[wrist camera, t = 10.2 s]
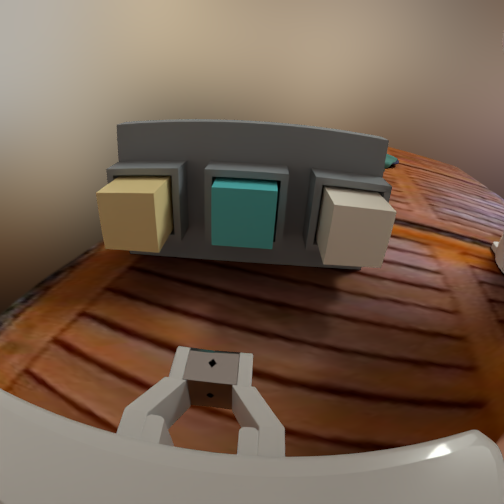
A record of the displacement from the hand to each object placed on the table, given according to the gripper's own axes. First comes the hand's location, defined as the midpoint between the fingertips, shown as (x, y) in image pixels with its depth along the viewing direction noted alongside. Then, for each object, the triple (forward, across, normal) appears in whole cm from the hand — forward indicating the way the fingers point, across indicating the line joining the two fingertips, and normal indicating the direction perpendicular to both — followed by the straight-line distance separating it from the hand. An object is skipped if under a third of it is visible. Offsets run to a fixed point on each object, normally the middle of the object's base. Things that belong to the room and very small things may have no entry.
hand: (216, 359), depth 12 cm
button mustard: (+14, +9, +3) cm, 17 cm away
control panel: (+18, 0, +7) cm, 20 cm away
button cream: (+14, -9, +3) cm, 17 cm away
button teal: (+16, 0, +3) cm, 16 cm away
